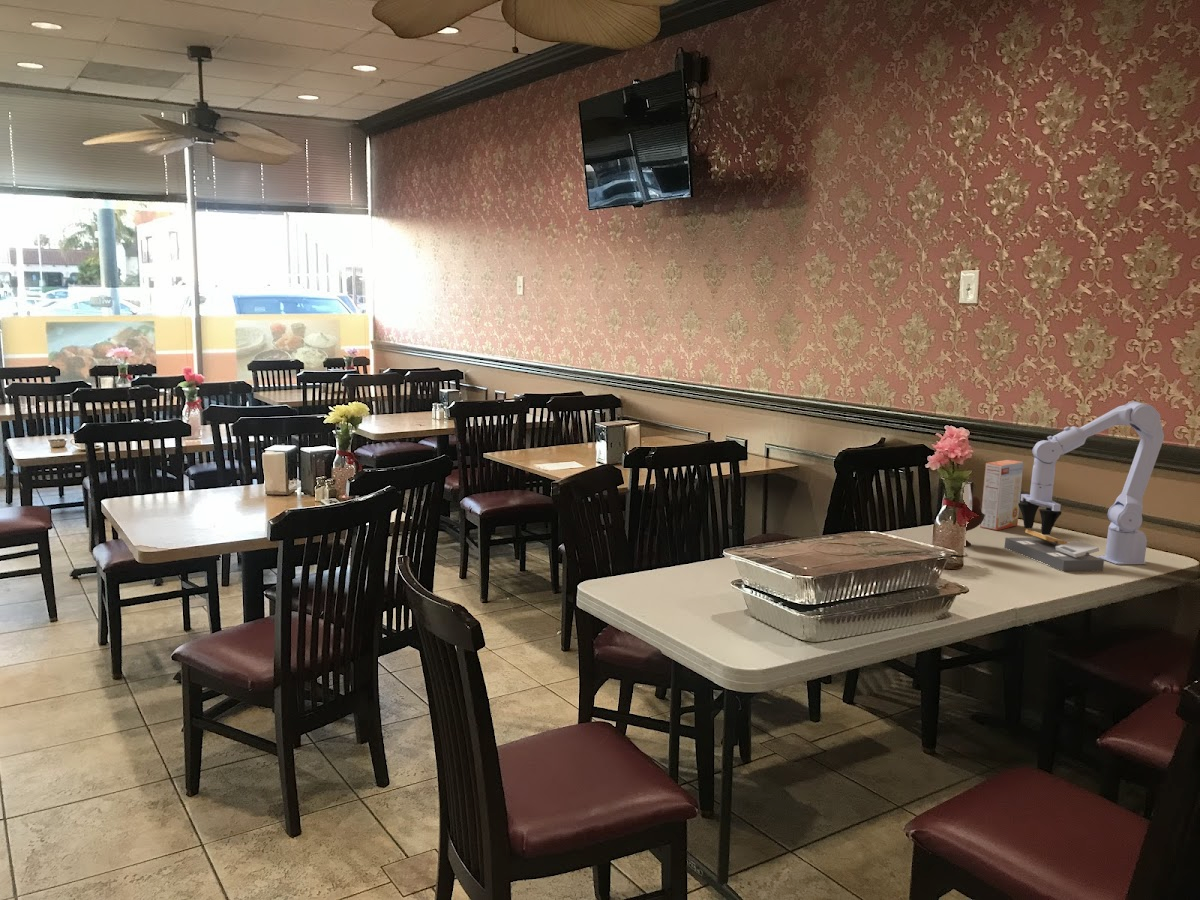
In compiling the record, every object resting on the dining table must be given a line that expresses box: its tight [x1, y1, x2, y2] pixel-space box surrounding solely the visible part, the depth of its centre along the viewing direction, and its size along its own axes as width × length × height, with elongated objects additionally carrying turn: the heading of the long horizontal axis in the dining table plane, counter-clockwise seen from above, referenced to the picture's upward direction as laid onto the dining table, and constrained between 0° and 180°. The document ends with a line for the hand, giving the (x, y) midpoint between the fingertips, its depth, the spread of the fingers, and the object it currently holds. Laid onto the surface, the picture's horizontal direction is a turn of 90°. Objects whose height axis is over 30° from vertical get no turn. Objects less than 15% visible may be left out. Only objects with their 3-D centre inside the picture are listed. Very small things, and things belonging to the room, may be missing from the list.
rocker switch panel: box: [1003, 536, 1105, 572], centre depth 263 cm, size 16×25×3 cm, turn 12°
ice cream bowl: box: [966, 493, 985, 547], centre depth 275 cm, size 11×11×15 cm
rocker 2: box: [1055, 540, 1100, 558], centre depth 256 cm, size 7×8×2 cm
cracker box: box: [979, 459, 1024, 531], centre depth 301 cm, size 14×6×21 cm, turn 130°
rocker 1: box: [1024, 528, 1069, 545], centre depth 268 cm, size 7×9×2 cm
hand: (1036, 531), depth 268 cm, fingers open, 7 cm apart
